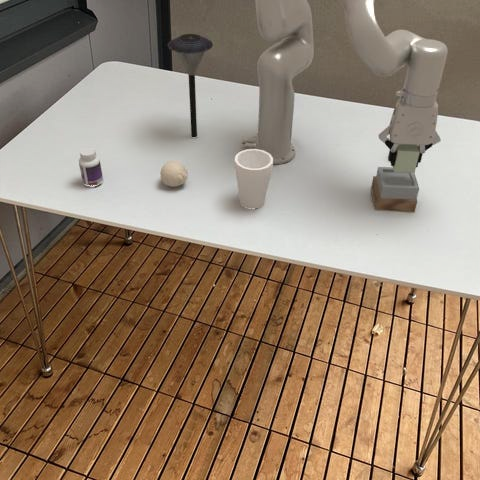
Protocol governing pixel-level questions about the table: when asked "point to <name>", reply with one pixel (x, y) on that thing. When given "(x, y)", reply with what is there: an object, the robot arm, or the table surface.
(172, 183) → the cream round ball
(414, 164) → the sage block
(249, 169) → the foam cup
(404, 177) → the grey block
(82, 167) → the pill bottle
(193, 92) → the solar garden light
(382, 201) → the walnut block
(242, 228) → the table surface
